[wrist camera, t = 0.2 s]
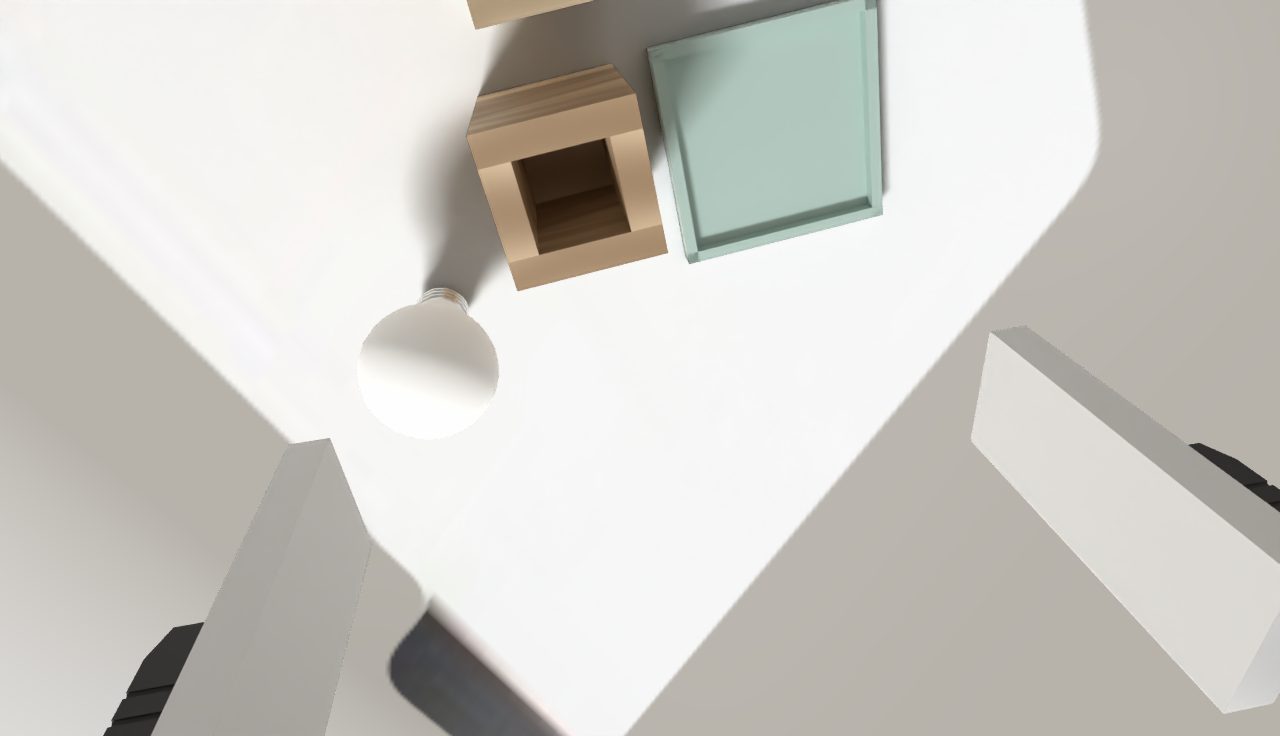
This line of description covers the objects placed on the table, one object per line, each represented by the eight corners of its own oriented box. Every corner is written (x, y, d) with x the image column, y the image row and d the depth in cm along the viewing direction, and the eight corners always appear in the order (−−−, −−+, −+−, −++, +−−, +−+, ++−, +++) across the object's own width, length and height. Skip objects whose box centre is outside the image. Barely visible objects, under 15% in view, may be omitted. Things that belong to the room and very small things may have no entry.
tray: (646, 48, 36) (649, 50, 35) (866, -7, 36) (876, -6, 35) (685, 256, 42) (689, 263, 41) (873, 208, 42) (882, 214, 41)
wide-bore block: (477, 96, 36) (465, 135, 28) (611, 63, 36) (636, 93, 28) (518, 225, 40) (517, 291, 32) (639, 194, 40) (667, 252, 32)
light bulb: (506, 258, 40) (502, 350, 31) (497, 359, 44) (491, 470, 34) (384, 244, 39) (341, 336, 30) (383, 349, 42) (345, 463, 33)
